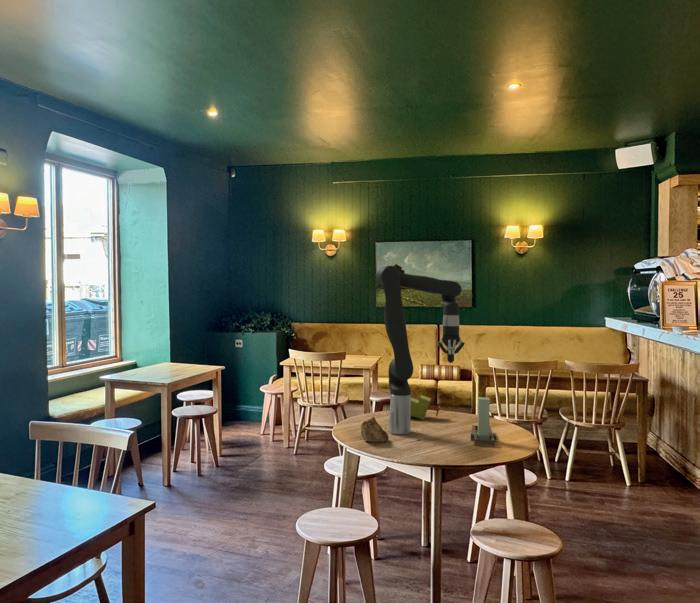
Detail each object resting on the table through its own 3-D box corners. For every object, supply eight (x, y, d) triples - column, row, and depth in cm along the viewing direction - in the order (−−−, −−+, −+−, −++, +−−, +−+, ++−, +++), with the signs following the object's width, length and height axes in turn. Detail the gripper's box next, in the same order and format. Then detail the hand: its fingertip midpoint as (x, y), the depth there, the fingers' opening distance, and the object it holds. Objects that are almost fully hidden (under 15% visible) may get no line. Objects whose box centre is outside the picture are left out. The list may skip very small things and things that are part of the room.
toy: (434, 424, 259) (397, 410, 263) (441, 401, 258) (404, 388, 262) (433, 428, 250) (394, 414, 254) (440, 405, 249) (401, 391, 253)
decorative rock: (362, 444, 208) (362, 418, 208) (358, 440, 214) (358, 415, 214) (389, 442, 211) (390, 416, 211) (385, 438, 217) (385, 413, 217)
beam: (469, 430, 231) (469, 424, 231) (492, 432, 229) (492, 426, 229) (471, 445, 208) (471, 438, 207) (497, 447, 205) (497, 440, 205)
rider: (477, 436, 219) (477, 396, 219) (488, 437, 218) (489, 397, 218) (478, 440, 213) (478, 399, 213) (489, 440, 212) (490, 399, 212)
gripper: (438, 325, 229) (438, 363, 229) (467, 325, 230) (467, 363, 230) (434, 324, 237) (434, 361, 237) (462, 324, 238) (462, 361, 238)
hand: (450, 362), depth 234 cm, fingers closed
